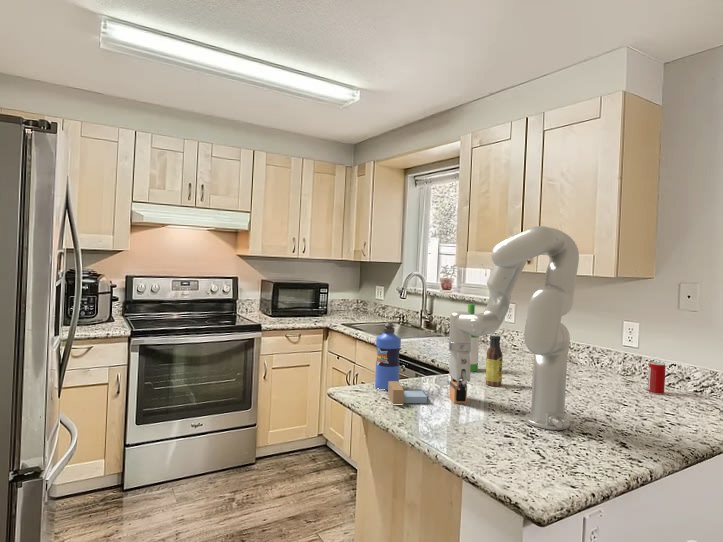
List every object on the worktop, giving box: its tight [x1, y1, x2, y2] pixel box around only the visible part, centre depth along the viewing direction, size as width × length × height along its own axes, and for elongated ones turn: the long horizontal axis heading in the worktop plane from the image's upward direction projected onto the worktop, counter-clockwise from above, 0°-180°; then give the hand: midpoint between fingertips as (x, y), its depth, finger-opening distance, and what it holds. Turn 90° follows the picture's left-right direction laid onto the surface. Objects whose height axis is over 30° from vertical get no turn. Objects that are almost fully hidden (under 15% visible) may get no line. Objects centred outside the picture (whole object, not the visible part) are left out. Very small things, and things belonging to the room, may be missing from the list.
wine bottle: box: [467, 303, 480, 373], centre depth 207 cm, size 8×8×30 cm
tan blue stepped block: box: [387, 381, 429, 405], centre depth 158 cm, size 11×12×5 cm
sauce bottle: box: [485, 334, 504, 387], centre depth 183 cm, size 6×6×20 cm
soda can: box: [647, 361, 666, 396], centre depth 179 cm, size 6×6×12 cm
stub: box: [448, 380, 468, 404], centre depth 160 cm, size 6×4×6 cm
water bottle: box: [374, 321, 402, 390], centre depth 174 cm, size 9×9×25 cm
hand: (457, 397), depth 160 cm, fingers closed on stub, 6 cm apart
